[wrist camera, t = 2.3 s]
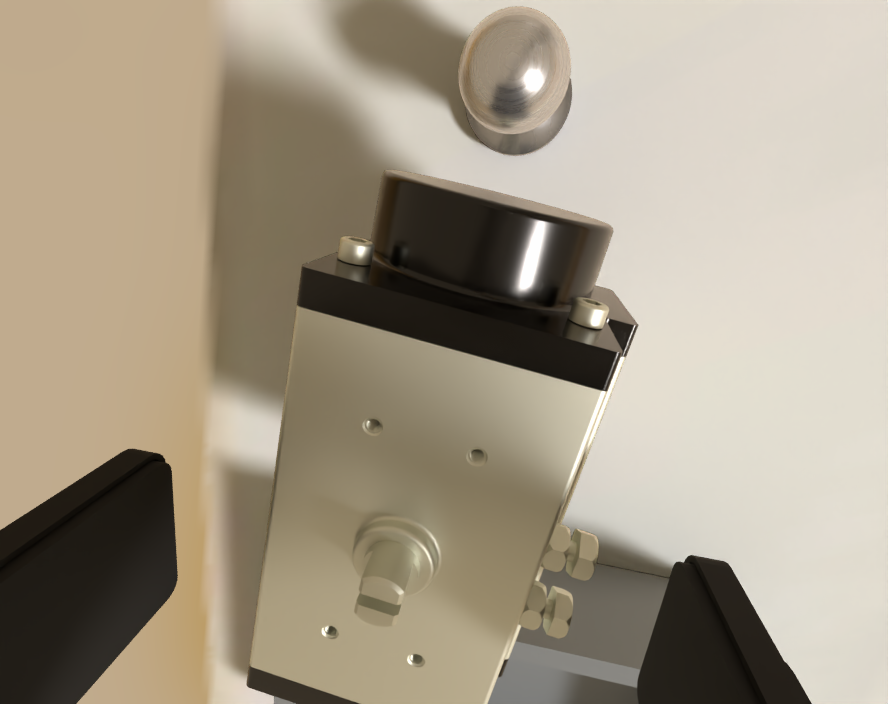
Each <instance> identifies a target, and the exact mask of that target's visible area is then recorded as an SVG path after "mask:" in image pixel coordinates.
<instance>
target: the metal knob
mask: <svg viewBox="0 0 888 704" xmlns="http://www.w3.org/2000/svg"><path fill="white" fill-rule="evenodd" d="M570 73H571V59H570V52H569V48H568V44H567V42H566V39H565V37H564V35H563V33H562V32H561V30H560V29H559V27H558V26H557V25H556V23H555V22H554V21H553V20H551V19H550V18H549V17H548V16H547V15H545V14H544V13H542V12H540V11H538V10H535V9H532V8H529V7H522V6H515V7H508V8H504V9H501V10H498V11H496V12H494V13H492V14H491V15H489V16H487V17H486V18H485V19H484V20H482V21H481V22H480V23H479V24H478V25H477V26H476V27H475V28H474V30H473V31H472V32H471V34H470V35H469V37H468V39H467V41H466V43H465V45H464V47H463V50H462V53H461V57H460V61H459V67H458V82H459V88H460V92H461V96H462V99H463V101H464V103H465V108H466V114H467V117H468V121H469V123H470V126H471V128H472V130H473V131H474V133H475V134H476V136H477V137H478V138H479V139H480V140H481V141H482V142H483V143H484V144H485V145H486V146H488V147H489V148H490V149H492V150H494V151H496V152H498V153H501V154H504V155H509V156H521V155H526V154H530V153H533V152H535V151H537V150H539V149H541V148H543V147H544V146H546V145H547V144H548V143H549V142H550V141H551V140H553V139H554V137H555V136H556V135H557V134H558V132H559V131H560V129H561V128H562V126H563V124H564V122H565V120H566V118H567V116H568V113H569V110H570V106H571V99H572V85H571V79H570Z"/></svg>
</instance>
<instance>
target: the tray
mask: <svg viewBox="0 0 888 704" xmlns="http://www.w3.org/2000/svg"><path fill="white" fill-rule="evenodd" d="M566 562H567V561H566ZM539 582H541V583H542V584H544V585H545V586H546V590H547V598H548V595H549V593H550V590H551V588H552V586H555V587H558V588H562V589H564V590H566V591H568V592H570V593H571V594H572V597H573V613H572V619H571V624H570V627H569V630H568V632H567V634H566V636H565V637H562V638H559V639H558V638H555V637H552V636H549V635H547V634H546V632H545V630H544V628H543V621H544V618H543V619H542V622H541V624H540V626H539V628H538V629H535V630H530V629H527V628H524V627H522V626H521V628H520V631H519V634H518V636H517V639H516V641H515V644H514V647H513V649H512V652H511V654H510V657H509V659H508V662H507V665H506V667H505V670H504V672H503V675H502V677H498V678H497V680H496V683H495V686H494V688H493V691H492V693H491V696H490V699H489V701H488V704H639V703H638V697H637V681H638V676H639V673H640V669H641V666H642V663H643V660H644V657H645V654H646V651H647V647H648V644H649V641H650V638H651V635H652V632H653V629H654V625H655V622H656V619H657V616H658V613H659V610H660V607H661V604H662V600H663V597H664V594H665V591H666V588H667V585H668V582H669V578H665V577H660V576H655V575H650V574H645V573H640V572H635V571H631V570H626V569H621V568H616V567H611V566H606V565H601V564H596V567H595V570H594V573H593V575H592V577H591V578H590V579H589V580H586V581H583V580H580V579H576V578H573V577H571V576H570V575H569V574H568V573H567V572H566V563H565V565H564V567H563V569H562V570H561V571H559V572H554V571H550V570H547V569H543V572H542V574H541V577H540V580H539ZM274 704H296V703H293V702H290V701H287V700H284V699H281V698H278V697H275V696H274Z"/></svg>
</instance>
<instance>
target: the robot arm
mask: <svg viewBox="0 0 888 704" xmlns="http://www.w3.org/2000/svg"><path fill="white" fill-rule="evenodd" d="M172 488H173V487H172V471H171V467H170V465H169V464H167V463H166V462H165V459H164V458H163V456H162V455H160V454H158V453H153V452H147V451H142V450H137V449H127V450H125V451H123V452H122V453H120V454H118V455H117V456H115V457H114V458H112V459H111V460H109V461H107V462H106V463H104V464H103V465H101V466H100V467H98V468H97V469H95V470H94V471H92V472H90V473H89V474H87V475H86V476H84V477H83V478H81V479H79V480H78V481H76V482H75V483H73V484H72V485H70V486H68V487H67V488H65V489H64V490H62V491H61V492H59V493H58V494H56V495H54V496H53V497H51V498H50V499H48V500H47V501H45V502H43V503H42V504H40V505H39V506H37V507H36V508H34V509H33V510H31V511H30V512H28V513H27V514H25V515H23V516H22V517H20V518H19V519H17V520H15V521H14V522H12V523H11V524H9V525H8V526H6V527H5V528H3V529H1V530H0V704H76V703H77V702H78V701H79V700H80V699H81V698H82V697H83V695H84V694H85V693H86V692H87V691H88V690H89V689H90V688H91V686H92V685H93V684H94V683H95V682H96V681H97V680H98V678H99V677H100V676H101V675H102V674H103V673H104V671H105V670H106V669H107V668H108V667H109V666H110V665H111V664H112V662H113V661H114V660H115V659H116V658H117V657H118V655H119V654H120V653H121V652H122V651H123V650H124V649H125V647H126V646H127V645H128V644H129V643H130V642H131V641H132V639H133V638H134V637H135V636H136V635H137V634H138V633H139V631H140V630H141V629H142V628H143V627H144V626H145V625H146V623H147V622H148V621H149V620H150V619H151V618H152V617H153V616H154V614H155V613H156V612H157V611H158V610H159V609H160V608H161V606H162V605H163V604H164V603H165V602H166V601H167V600H168V598H169V597H170V595H171V594H172V592H173V591H174V588H175V586H176V582H177V576H178V575H177V559H176V558H177V557H176V542H175V541H176V540H175V523H174V504H173V489H172ZM637 697H638V703H639V704H812V703H811V702H810V700H809V698H808V696H807V695H806V693H805V691H804V689H803V688H802V686H801V684H800V683H799V681H798V679H797V677H796V676H795V674H794V672H793V671H792V670H791V668H790V667H789V666H788V664H787V663H786V662H784V660H783V658H782V657H781V655H780V653H779V651H778V650H777V648H776V646H775V644H774V643H773V641H772V639H771V637H770V635H769V634H768V632H767V630H766V628H765V627H764V625H763V623H762V621H761V620H760V618H759V616H758V614H757V613H756V611H755V609H754V607H753V605H752V604H751V602H750V600H749V598H748V597H747V595H746V593H745V591H744V590H743V588H742V586H741V584H740V583H739V581H738V579H737V577H736V576H735V574H734V572H733V570H732V568H731V567H730V566H729V564H728V563H726V562H724V561H719V560H714V559H709V558H704V557H698V556H693V555H691V556H688V557H687V558H686V559H685V562H684V563H683V562H676V563H675V564H674V567H673V569H672V572H671V575H670V578H669V582H668V585H667V588H666V591H665V594H664V597H663V600H662V604H661V607H660V610H659V613H658V616H657V619H656V622H655V625H654V629H653V632H652V635H651V638H650V641H649V644H648V647H647V651H646V654H645V657H644V660H643V663H642V666H641V669H640V673H639V676H638V681H637Z"/></svg>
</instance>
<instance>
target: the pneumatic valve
mask: <svg viewBox="0 0 888 704" xmlns="http://www.w3.org/2000/svg"><path fill="white" fill-rule="evenodd" d="M612 234H613V228H612V227H611V226H610V225H609V224H607V223H604V222H602V221H599V220H596V219H593V218H590V217H587V216H583V215H580V214H577V213H573V212H570V211H566V210H563V209H559V208H556V207H552V206H548V205H545V204H541V203H537V202H534V201H530V200H526V199H522V198H518V197H514V196H510V195H507V194H503V193H499V192H495V191H491V190H486V189H482V188H478V187H474V186H470V185H466V184H461V183H457V182H453V181H448V180H444V179H439V178H435V177H430V176H425V175H421V174H416V173H410V172H405V171H399V170H385V171H384V172H383V174H382V178H381V184H380V190H379V195H378V201H377V207H376V212H375V218H374V223H373V229H372V234H371V240H369V241H368V240H365V239H362V238H358V237H351V236H344V237H342V238H341V239H340V243H339V249H338V252H336V253H333V254H331V255H328V256H325V257H322V258H320V259H317V260H314V261H311V262H309V263H306V264H303V265H302V270H301V277H300V285H299V292H298V300H297V307H296V315H295V323H294V330H293V338H292V345H291V353H290V360H289V368H288V375H287V383H286V390H285V398H284V405H283V413H282V421H281V428H280V436H279V443H278V451H277V458H276V466H275V473H274V481H273V488H272V496H271V503H270V511H269V519H268V526H267V534H266V541H265V549H264V556H263V564H262V571H261V579H260V586H259V594H258V601H257V609H256V616H255V624H254V632H253V639H252V647H251V654H250V662H249V669H248V677H247V686H248V687H249V688H252V689H255V690H258V691H261V692H264V693H266V694H269V695H272V696H275V697H278V698H281V699H284V700H287V701H290V702H293V703H296V704H488V701H489V699H490V696H491V693H492V691H493V688H494V686H495V683H496V680H497V678H498V677H502V675H503V672H504V670H505V667H506V665H507V662H508V659H509V657H510V654H511V652H512V649H513V647H514V644H515V641H516V639H517V636H518V634H519V631H520V628H521V626H522V627H524V628H527V629H530V630H535V629H538V628H539V626H540V624H541V622H542V619H543V618H544V621H543V628H544V630H545V632H546V634H547V635H549V636H552V637H555V638H558V639H559V638H562V637H565V636H566V634H567V632H568V630H569V627H570V624H571V619H572V613H573V597H572V594H571V593H570V592H568V591H566V590H564V589H562V588H558V587H555V586H552V588H551V590H550V593H549V595H548V598H547V590H546V586H545V585H544V584H542V583H541V582H539V580H540V577H541V574H542V572H543V569H547V570H550V571H554V572H559V571H561V570H562V569H563V567H564V565H565V563H566V572H567V573H568V574H569V575H570V576H571V577H573V578H576V579H580V580H583V581H586V580H589V579H590V578H591V577H592V575H593V573H594V570H595V567H596V563H597V559H598V550H599V544H598V538H597V536H595V535H593V534H591V533H588V532H585V531H582V530H579V529H575V531H574V533H573V536H572V538H571V540H570V537H571V534H570V529H569V528H568V527H566V526H564V525H562V524H561V523H562V520H563V518H564V515H565V513H566V510H567V508H568V505H569V502H570V500H571V497H572V495H573V492H574V489H575V487H576V484H577V482H578V479H579V477H580V474H581V471H582V469H583V466H584V464H585V461H586V459H587V456H588V453H589V451H590V448H591V446H592V443H593V441H594V438H595V435H596V433H597V430H598V428H599V425H600V423H601V420H602V417H603V415H604V412H605V410H606V407H607V405H608V402H609V399H610V397H611V394H612V392H613V389H614V387H615V384H616V381H617V379H618V376H619V374H620V371H621V369H622V366H623V363H624V361H625V358H626V356H627V353H628V350H629V348H630V345H631V343H632V340H633V338H634V335H635V332H636V330H637V327H638V324H637V323H636V321H635V320H634V319H633V317H632V316H631V315H630V313H629V312H628V311H627V309H626V308H625V306H624V305H623V304H622V302H621V301H620V300H619V298H618V297H617V296H616V294H615V293H614V292H613V291H612V290H610V289H607V288H603V287H599V286H595V283H596V280H597V278H598V275H599V272H600V269H601V266H602V263H603V260H604V257H605V254H606V252H607V249H608V246H609V243H610V240H611V237H612ZM566 561H567V562H566Z"/></svg>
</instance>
